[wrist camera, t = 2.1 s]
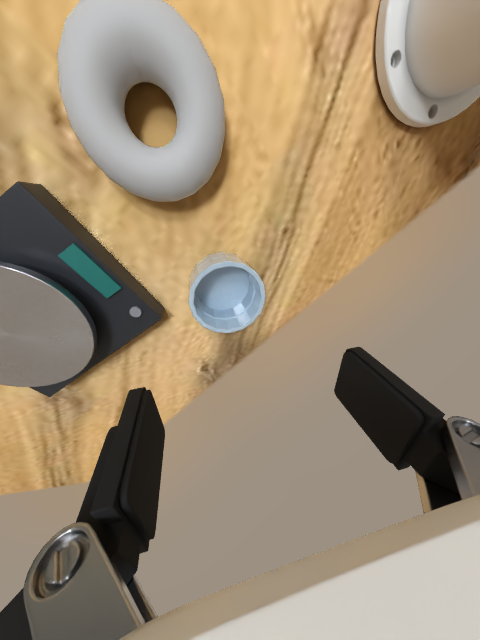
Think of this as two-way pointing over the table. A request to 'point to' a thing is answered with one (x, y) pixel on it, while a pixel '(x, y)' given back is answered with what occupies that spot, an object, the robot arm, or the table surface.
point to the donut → (128, 70)
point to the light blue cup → (225, 293)
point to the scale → (74, 269)
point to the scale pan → (41, 330)
